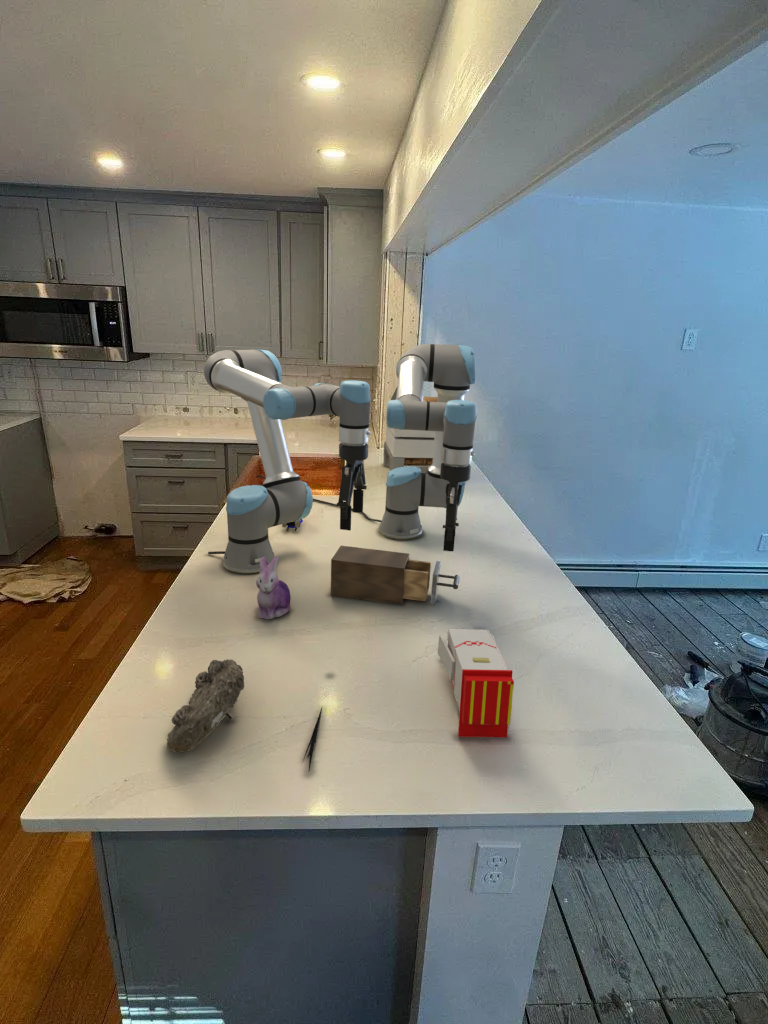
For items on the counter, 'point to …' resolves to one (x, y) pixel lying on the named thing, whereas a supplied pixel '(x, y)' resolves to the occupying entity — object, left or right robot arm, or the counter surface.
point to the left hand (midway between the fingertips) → (351, 520)
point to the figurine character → (293, 525)
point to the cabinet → (368, 574)
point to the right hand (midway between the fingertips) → (448, 550)
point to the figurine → (271, 591)
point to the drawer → (424, 580)
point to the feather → (313, 740)
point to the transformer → (408, 445)
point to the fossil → (206, 705)
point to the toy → (478, 682)
